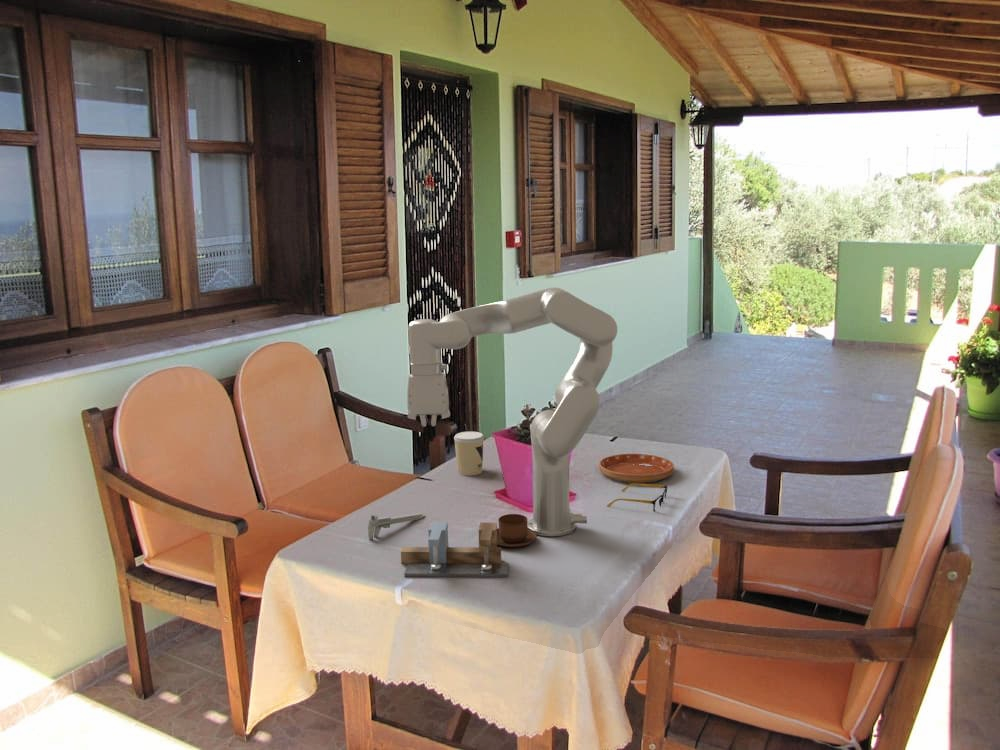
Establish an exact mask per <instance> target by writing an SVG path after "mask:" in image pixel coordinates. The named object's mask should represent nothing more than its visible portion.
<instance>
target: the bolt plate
mask: <svg viewBox="0 0 1000 750" xmlns="http://www.w3.org/2000/svg"><path fill="white" fill-rule="evenodd" d="M509 565H510V564H509V563H501V564H485V563H437V564H434V563H408V564H407V566H406V569H405V571H404V574H403V575H404V577H406V578H408V577H410V578H414V577H417V578H418V577H420V578H422V577H424V578H431V577H432V578H508V575H509V567H510V566H509Z"/></svg>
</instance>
